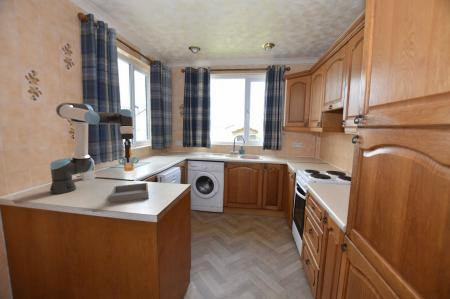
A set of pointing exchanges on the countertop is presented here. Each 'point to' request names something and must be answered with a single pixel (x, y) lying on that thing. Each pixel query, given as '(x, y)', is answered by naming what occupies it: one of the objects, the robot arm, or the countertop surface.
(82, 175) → the clear glass vessel
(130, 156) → the orange toy
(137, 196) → the bin
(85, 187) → the countertop surface
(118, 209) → the countertop surface
